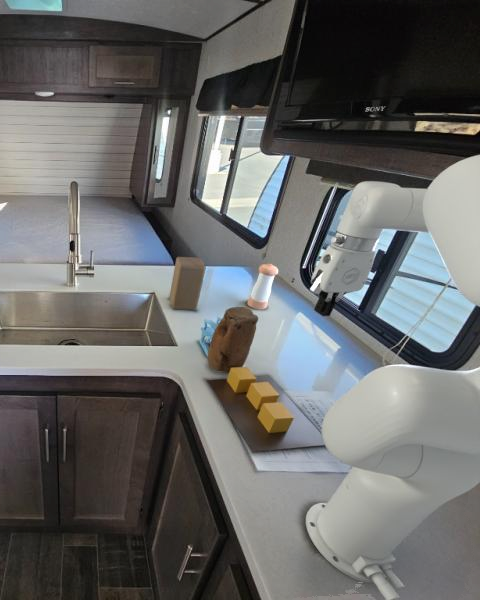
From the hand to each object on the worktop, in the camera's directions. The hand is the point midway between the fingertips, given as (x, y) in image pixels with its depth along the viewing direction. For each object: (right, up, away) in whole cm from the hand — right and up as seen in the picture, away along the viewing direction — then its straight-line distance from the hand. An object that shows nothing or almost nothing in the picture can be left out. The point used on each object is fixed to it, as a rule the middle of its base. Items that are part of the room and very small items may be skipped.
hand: (321, 313), depth 79 cm
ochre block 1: (-13, -22, +15) cm, 30 cm away
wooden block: (-16, +1, +57) cm, 60 cm away
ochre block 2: (-10, -25, +10) cm, 29 cm away
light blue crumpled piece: (-15, -14, +31) cm, 37 cm away
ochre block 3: (-10, -29, +3) cm, 31 cm away
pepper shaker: (+16, +1, +58) cm, 60 cm away
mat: (-10, -26, +8) cm, 29 cm away
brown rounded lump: (-14, -18, +23) cm, 33 cm away
